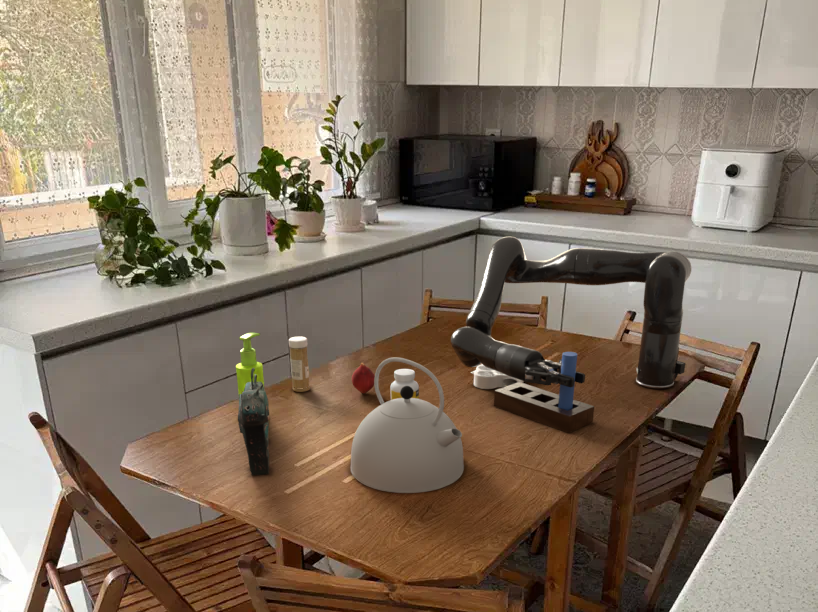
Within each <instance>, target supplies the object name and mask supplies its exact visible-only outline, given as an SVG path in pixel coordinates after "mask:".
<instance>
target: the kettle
mask: <svg viewBox="0 0 818 612" xmlns="http://www.w3.org/2000/svg"><path fill="white" fill-rule="evenodd" d="M393 362H395V363H396V362H398V363H403V364H406V365H409V366H412V367H414V368H416V369H419V370H420V371H422V372H423V373H425V374H426V375H427V376H428V377H429V378H431V380H432V381H433V383H434V384H435V386H436V388H437V392H438V395H439V407H438V406H436V405H434V404H432V403H431V402H429V401H426V400H424V399H422V398H419V399H417V398H412V396H413V394H414V391H413V389H412V388H411V387H410V386H404V387H402V389H401V391H400V395H401V397H402V398H397V399H393V400H391V399H390V400H388V401H387V400H386V402H385V401H384V399H383V396H382V393H381V391H380V387H379V386H380V385H379V379H380V373H381V371H382V370H383V368H384V366H386V365H387V364H389V363H393ZM374 375H375V380H374V391H375V394H376V397H377V400H378V402H379V404H380V405H378V406H377V407H375V408H374V409H372V410H371V411H370V412H369V413H368V414H367V415H366V416H365V417H364V418H363V419H362V421H361V422H360V423H359V425H358V426H357V429H356V431H355V432H354V435H353V439H352V443H351V448H350V473H351V475H352V477H353V478H354V479H356V481H358V482H359V483H361V484H362V485H364V486H366V487H368V488H371V489H374V490H377V491H383V492H388V493H395V494H396V493H397V494H415V493H416V494H417V493H426V492H431V491H437V490H440V489H442V488H445V487H447V486H450V485H452V484H453V483H455V482H456V481H458V480H459V479H460V478H461V476H462V475H463V473H464V469H465V465H464V447H463V442H462V437H463V433H462V431H461V430H460V429H458V428H457V427H456V425H455V423H454V422H453V420H452V419H451V418H450V417H449V416H448V414H446V413H445V411H444V408H445V396H444V390H443V386H442V385H441V383H440V381H439V379H438V378H437V377H436V375H435V374H434V373H433V372H432V371H431V370H430V369H428V368H427V367H425V366H424V365H422V364H420V363H418V362H415V361H413V360H410V359H408V358H403V357H396V356H395V357H389V358H386V359H384V360H382V361H381V363H379V365H378V366H377V368H376V370H375V373H374Z"/></svg>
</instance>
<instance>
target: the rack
mask: <svg viewBox="0 0 818 612" xmlns="http://www.w3.org/2000/svg"><path fill="white" fill-rule="evenodd" d="M493 393H494V395H493V398H494V399H493V407H496V408H499V409H501V410H504V411H505V412H506V411H507V412H509V413H512V414H515V415H518V416H521V417H523V418H525V419H528V420H532V421H534V422H537V423H539V424H542V425H544V426H548V427H551V428H553V429H556V430H559V431H561V432H565V433H566V434H569V433H570V434H571V433H572V432H574V431H576V430H580V429H582V428H584V427H586V426H588V425H591V424H593V423H594V414H595V406H594V405H592V404H589V403H585V402H582V401H579V400H576V399H573V408H572V409H571V410H568V411H567V410H564V409H561V408H558V402H559V393H558V394H557V393H554V392H552V391H548V390H547V389H543V388H539V387H536V386H533V385H531V384H530V385H529V384H527V383H524V382H523V383H521V382H518V383H515V384H512V385H509V386H506V387H499V388H497V389H494V391H493Z"/></svg>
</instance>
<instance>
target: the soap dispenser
mask: <svg viewBox="0 0 818 612" xmlns="http://www.w3.org/2000/svg"><path fill="white" fill-rule="evenodd" d="M259 336H261V333H259V332H253V331H251V332H247V333H245V334H243V335H241V336H239V341H242V343H243V344H242V345H243V346H242V347H243V348H242V349H240V351H239V355H240V362H239V363H237V364H236V365H235V371H236V382H237V390H238V391H237V392H238V393H237V394H238V395H239V394H242V392H243V391H244V388H245V385H246V383H247V382H251V369H252V368H255V371H254V372H253V382H254V375H255V374H256V375H257V380H256V382H262V383H263V384H264V385H263V386H264V387H265V380H264V379H265V378H264V367H263V366H264V365H263V363H262V362H259V361H258V360H257V351H256V348H254V347H252V339H253V338H255V337H259Z"/></svg>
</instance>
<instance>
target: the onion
mask: <svg viewBox="0 0 818 612" xmlns="http://www.w3.org/2000/svg"><path fill="white" fill-rule="evenodd" d="M374 380H375V373H374V372H373V370H372V369H371V368H369V366H367V365H366V364H365V363H364V362H361V363H360V365H359V366H358V367H357V368H356V369H354V371H353V373H352V375H351V383H352V386H353V387H354V388H355V389H356V390H357V391H358V392H360V393H361V394H362V395H364V394H366V393H368V392H369V391H371V390H372V389H373V388H374V387H375V385H374Z"/></svg>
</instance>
